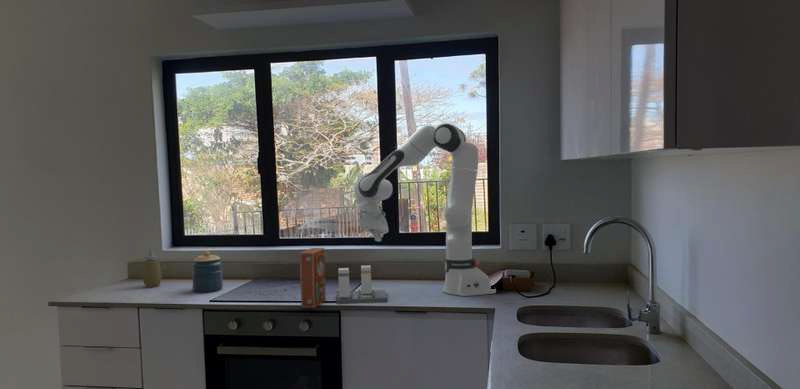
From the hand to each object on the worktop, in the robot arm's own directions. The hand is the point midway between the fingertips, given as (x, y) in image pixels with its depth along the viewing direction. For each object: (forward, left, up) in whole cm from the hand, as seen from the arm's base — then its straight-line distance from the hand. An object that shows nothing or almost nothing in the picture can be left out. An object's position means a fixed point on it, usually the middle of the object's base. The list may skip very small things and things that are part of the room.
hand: (378, 240), depth 218 cm
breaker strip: (+8, +18, -21) cm, 29 cm away
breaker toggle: (+6, +17, -19) cm, 26 cm away
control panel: (+27, +24, -21) cm, 42 cm away
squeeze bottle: (+107, -20, -21) cm, 111 cm away
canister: (+78, -9, -21) cm, 81 cm away
